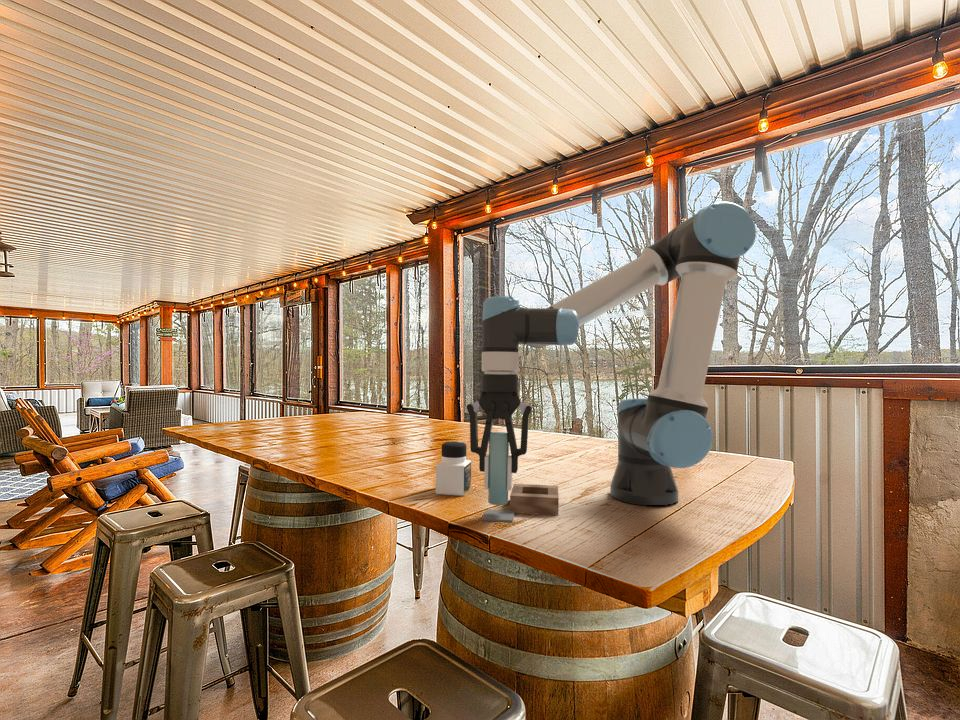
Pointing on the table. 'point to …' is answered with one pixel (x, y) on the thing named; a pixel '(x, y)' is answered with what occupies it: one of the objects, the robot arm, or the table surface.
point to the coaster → (498, 515)
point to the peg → (498, 468)
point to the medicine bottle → (453, 470)
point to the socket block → (534, 499)
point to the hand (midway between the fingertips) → (498, 487)
